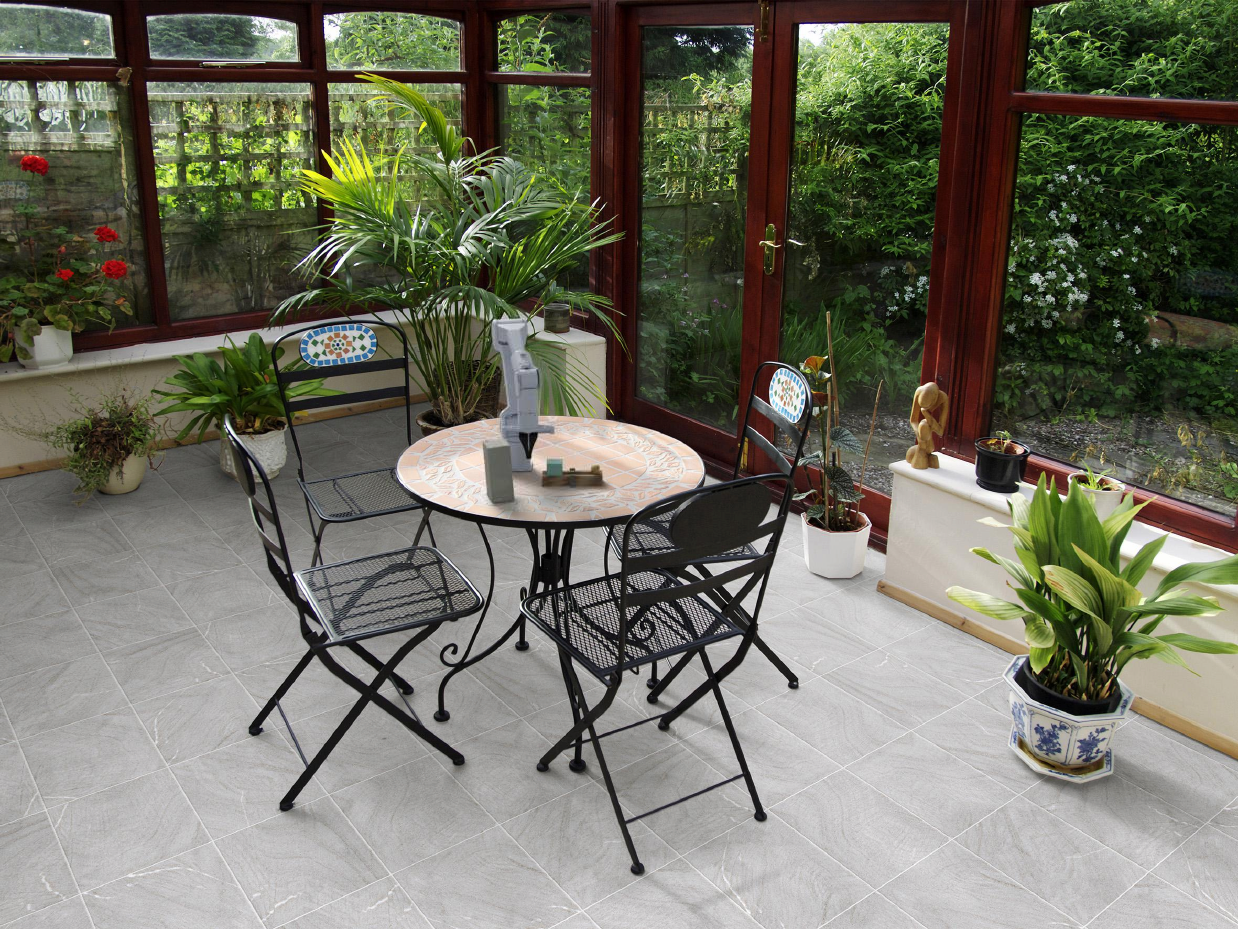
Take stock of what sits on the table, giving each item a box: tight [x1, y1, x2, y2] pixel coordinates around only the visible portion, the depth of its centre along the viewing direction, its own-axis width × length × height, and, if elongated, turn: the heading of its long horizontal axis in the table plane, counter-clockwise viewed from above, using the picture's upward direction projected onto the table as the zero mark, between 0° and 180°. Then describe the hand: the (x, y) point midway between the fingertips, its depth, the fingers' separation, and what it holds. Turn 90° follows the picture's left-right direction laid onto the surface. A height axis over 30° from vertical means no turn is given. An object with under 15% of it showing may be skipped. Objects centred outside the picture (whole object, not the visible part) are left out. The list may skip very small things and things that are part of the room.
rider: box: [546, 458, 564, 476], centre depth 312 cm, size 4×4×5 cm
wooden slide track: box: [541, 464, 604, 488], centre depth 313 cm, size 17×7×5 cm, turn 92°
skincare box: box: [482, 438, 515, 504], centre depth 299 cm, size 8×7×16 cm
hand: (528, 458), depth 311 cm, fingers closed
